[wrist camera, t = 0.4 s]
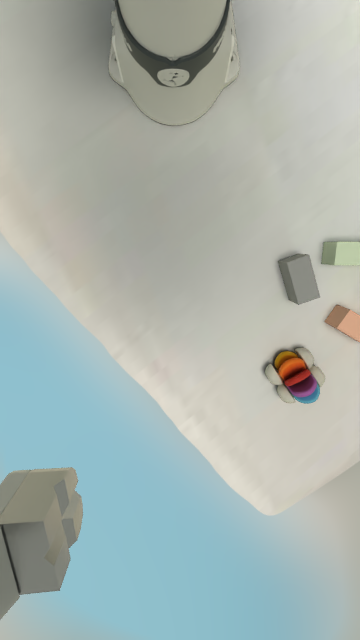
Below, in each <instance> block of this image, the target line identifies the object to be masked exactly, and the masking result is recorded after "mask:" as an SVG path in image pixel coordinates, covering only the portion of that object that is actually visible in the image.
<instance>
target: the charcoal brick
mask: <svg viewBox="0 0 360 640" xmlns="http://www.w3.org/2000/svg"><path fill="white" fill-rule="evenodd" d="M278 263H279V267H280V270H281V274H282V277H283V281H284V284H285V288H286V291H287V295H288V298H289V300H290V301H292V302H294V303H296V304H298V305H299V304H302V303H305V302H308V301H311V300H314V299H316V298H319V297H320V295H319V291H318V287H317V283H316V279H315V275H314V272H313V268H312V264H311V260H310V256H309V255H308V254H296V255H294V256H291V257H288V258H285V259H283V260H280V261H278Z"/></svg>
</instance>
